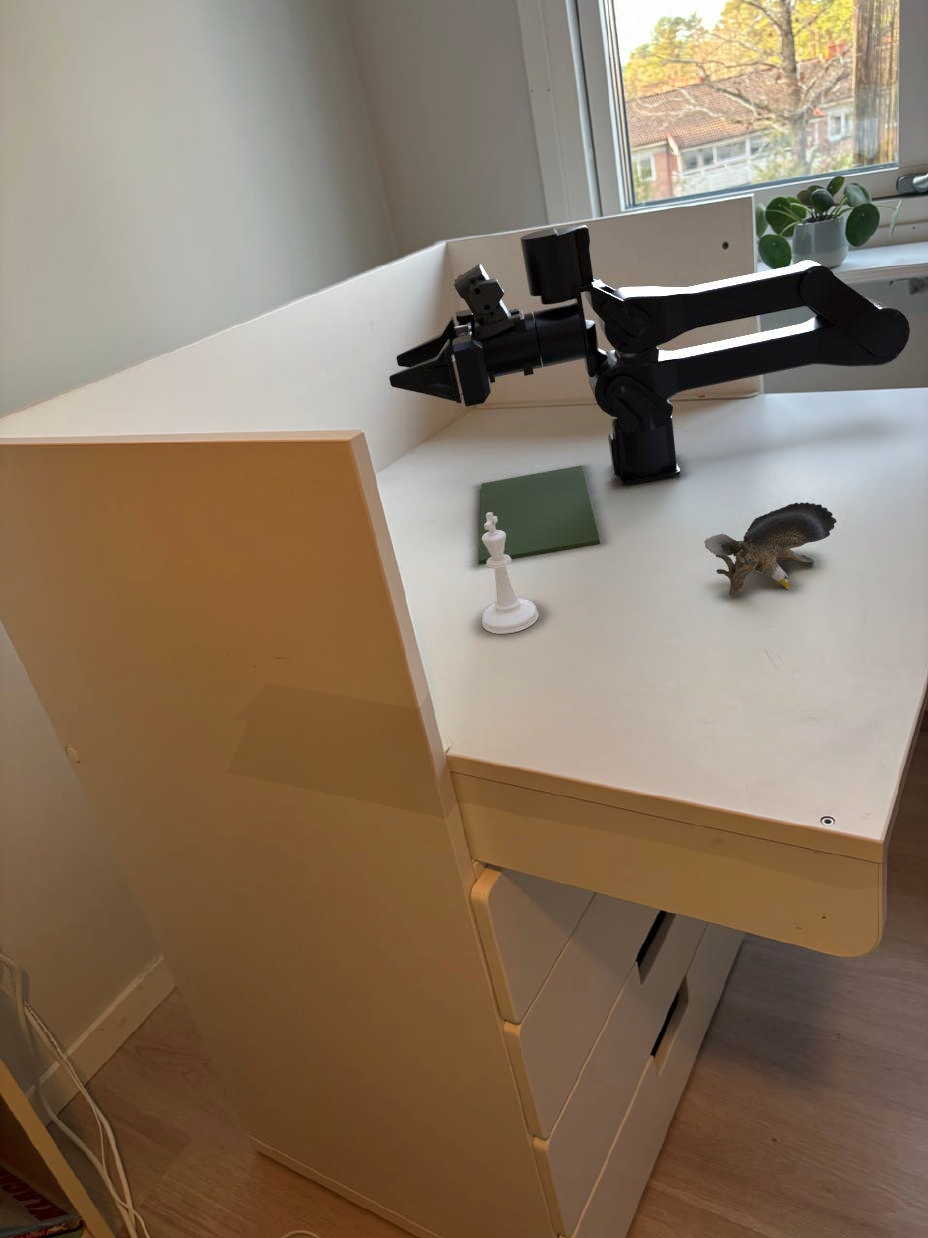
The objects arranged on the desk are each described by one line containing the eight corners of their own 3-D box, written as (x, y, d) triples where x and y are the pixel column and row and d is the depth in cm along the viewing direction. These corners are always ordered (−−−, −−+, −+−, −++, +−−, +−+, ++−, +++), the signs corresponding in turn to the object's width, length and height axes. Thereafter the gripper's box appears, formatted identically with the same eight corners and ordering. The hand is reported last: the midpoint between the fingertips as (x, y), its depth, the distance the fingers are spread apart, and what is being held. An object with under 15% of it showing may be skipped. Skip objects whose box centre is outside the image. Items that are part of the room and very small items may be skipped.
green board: (581, 468, 110) (581, 465, 109) (600, 543, 90) (599, 539, 90) (482, 486, 111) (481, 483, 111) (478, 564, 92) (478, 560, 91)
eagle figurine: (785, 604, 71) (858, 541, 74) (730, 529, 71) (806, 469, 74) (731, 622, 78) (799, 564, 81) (681, 553, 78) (751, 498, 81)
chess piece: (546, 606, 81) (527, 500, 76) (526, 635, 77) (504, 526, 73) (495, 604, 83) (474, 501, 79) (473, 632, 80) (449, 526, 75)
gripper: (520, 248, 102) (382, 280, 104) (527, 273, 86) (364, 309, 87) (537, 349, 107) (406, 377, 109) (548, 391, 91) (393, 423, 93)
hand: (393, 370), depth 99 cm, fingers open, 9 cm apart
